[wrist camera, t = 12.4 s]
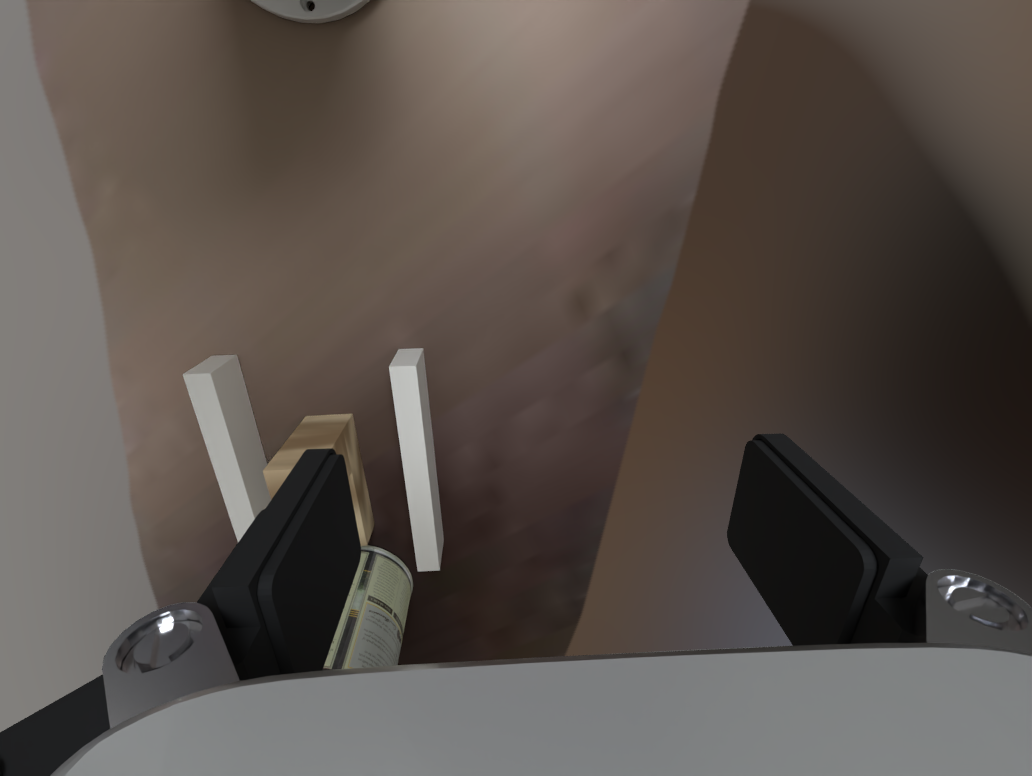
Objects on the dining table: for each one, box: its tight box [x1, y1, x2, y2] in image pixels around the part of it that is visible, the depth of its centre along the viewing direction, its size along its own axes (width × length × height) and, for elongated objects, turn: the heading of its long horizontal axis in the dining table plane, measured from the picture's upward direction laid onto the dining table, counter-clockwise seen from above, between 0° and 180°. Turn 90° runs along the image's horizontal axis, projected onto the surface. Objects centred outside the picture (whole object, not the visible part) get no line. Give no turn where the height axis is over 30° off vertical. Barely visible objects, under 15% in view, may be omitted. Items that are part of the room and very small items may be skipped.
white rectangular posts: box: [183, 348, 444, 572], centre depth 41 cm, size 20×17×4 cm
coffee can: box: [322, 545, 413, 671], centre depth 43 cm, size 10×10×14 cm
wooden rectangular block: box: [263, 414, 375, 546], centre depth 40 cm, size 12×4×8 cm, turn 2°
